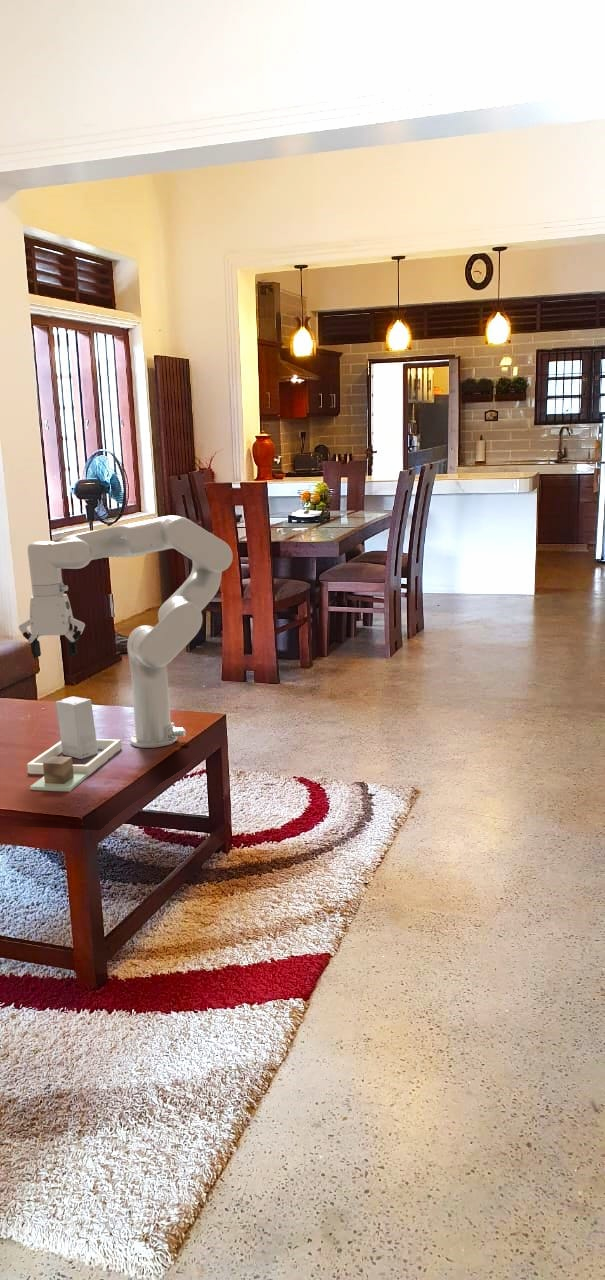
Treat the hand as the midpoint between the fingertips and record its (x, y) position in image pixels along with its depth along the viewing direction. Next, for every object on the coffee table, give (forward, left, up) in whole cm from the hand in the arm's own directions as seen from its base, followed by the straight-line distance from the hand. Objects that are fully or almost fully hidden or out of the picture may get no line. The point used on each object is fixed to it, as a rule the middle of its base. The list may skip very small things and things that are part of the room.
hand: (55, 656), depth 244 cm
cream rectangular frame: (-5, +4, -26) cm, 27 cm away
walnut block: (-8, +20, -26) cm, 33 cm away
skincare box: (-4, -1, -27) cm, 27 cm away
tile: (-8, +20, -26) cm, 34 cm away
